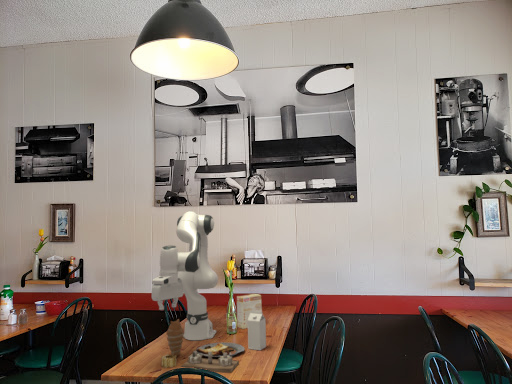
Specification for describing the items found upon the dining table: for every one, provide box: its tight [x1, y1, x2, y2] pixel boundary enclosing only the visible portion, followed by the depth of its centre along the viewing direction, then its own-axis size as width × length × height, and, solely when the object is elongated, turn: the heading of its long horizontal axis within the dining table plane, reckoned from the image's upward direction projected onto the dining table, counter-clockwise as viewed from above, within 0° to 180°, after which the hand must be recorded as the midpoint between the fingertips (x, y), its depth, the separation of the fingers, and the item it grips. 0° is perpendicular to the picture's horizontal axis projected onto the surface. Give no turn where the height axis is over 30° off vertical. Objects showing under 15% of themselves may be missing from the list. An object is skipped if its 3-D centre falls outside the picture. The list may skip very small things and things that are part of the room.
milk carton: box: [247, 311, 267, 351], centre depth 225 cm, size 7×7×19 cm
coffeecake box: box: [236, 293, 263, 330], centre depth 273 cm, size 15×7×20 cm, turn 122°
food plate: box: [195, 341, 246, 358], centre depth 218 cm, size 25×23×4 cm
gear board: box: [180, 350, 240, 374], centre depth 197 cm, size 12×24×6 cm, turn 75°
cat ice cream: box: [166, 318, 184, 357], centre depth 214 cm, size 9×8×18 cm
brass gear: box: [161, 354, 177, 369], centre depth 200 cm, size 7×7×4 cm
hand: (167, 308), depth 204 cm, fingers open, 8 cm apart
